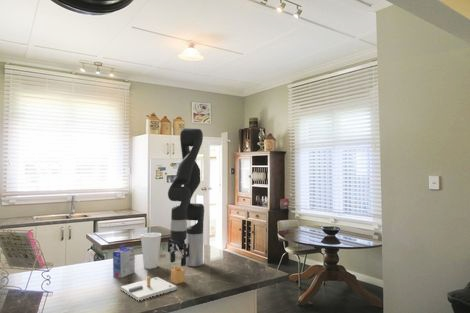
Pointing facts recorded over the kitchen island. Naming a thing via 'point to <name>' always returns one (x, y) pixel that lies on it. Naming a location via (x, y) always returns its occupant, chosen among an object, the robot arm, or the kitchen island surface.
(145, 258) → the cup
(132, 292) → the plate
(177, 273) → the cube with dome knob
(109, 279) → the kitchen island surface
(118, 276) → the ink cartridge box
